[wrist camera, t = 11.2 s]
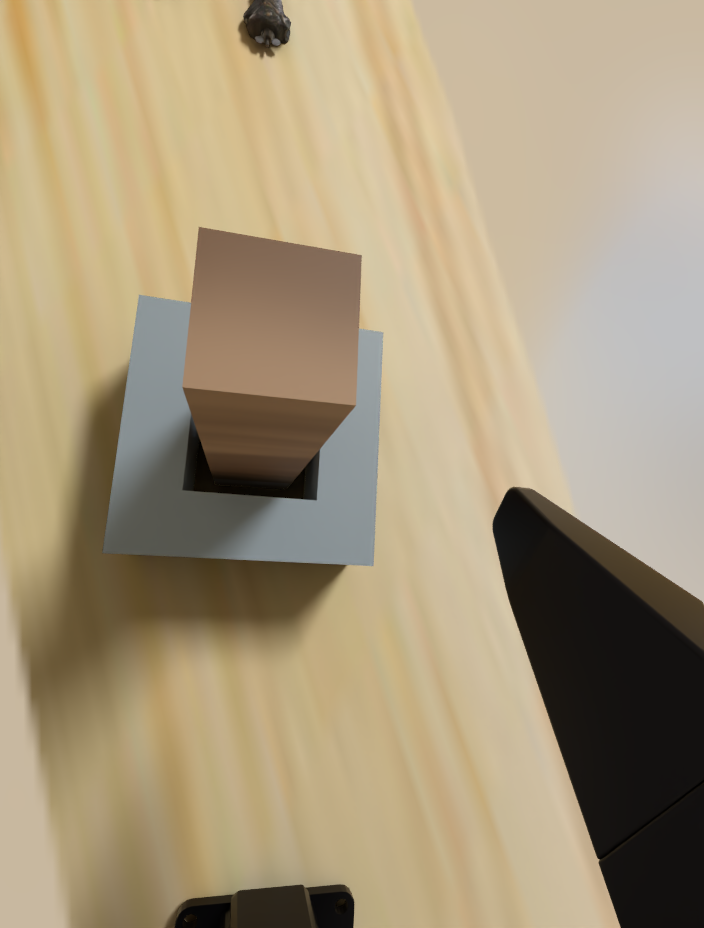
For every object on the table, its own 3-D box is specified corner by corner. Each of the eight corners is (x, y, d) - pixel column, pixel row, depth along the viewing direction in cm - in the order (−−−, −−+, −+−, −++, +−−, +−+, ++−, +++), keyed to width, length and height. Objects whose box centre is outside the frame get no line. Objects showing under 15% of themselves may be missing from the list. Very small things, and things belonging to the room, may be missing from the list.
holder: (349, 562, 21) (373, 565, 18) (128, 552, 19) (102, 553, 16) (358, 368, 23) (383, 332, 19) (156, 341, 21) (139, 294, 17)
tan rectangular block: (286, 489, 21) (356, 405, 9) (215, 485, 21) (182, 387, 8) (290, 423, 22) (361, 255, 9) (221, 416, 21) (198, 226, 9)
